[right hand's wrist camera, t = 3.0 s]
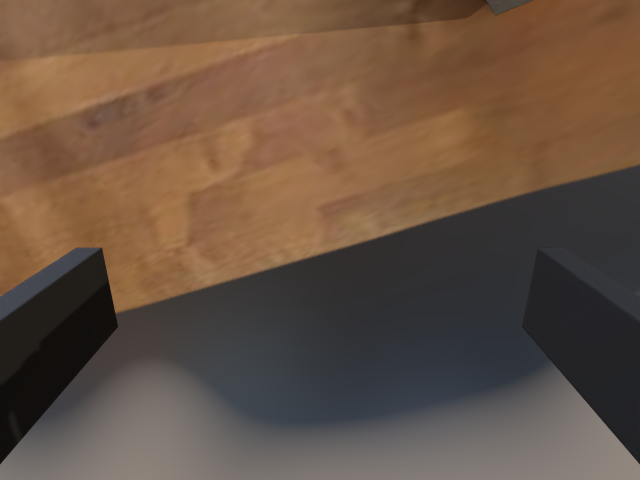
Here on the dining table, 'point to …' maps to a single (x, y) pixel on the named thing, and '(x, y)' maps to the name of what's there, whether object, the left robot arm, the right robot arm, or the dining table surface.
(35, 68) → the dining table surface
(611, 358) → the right robot arm
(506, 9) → the hard drive box
